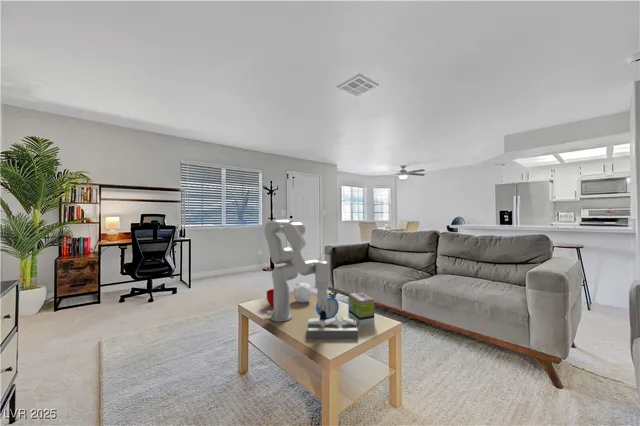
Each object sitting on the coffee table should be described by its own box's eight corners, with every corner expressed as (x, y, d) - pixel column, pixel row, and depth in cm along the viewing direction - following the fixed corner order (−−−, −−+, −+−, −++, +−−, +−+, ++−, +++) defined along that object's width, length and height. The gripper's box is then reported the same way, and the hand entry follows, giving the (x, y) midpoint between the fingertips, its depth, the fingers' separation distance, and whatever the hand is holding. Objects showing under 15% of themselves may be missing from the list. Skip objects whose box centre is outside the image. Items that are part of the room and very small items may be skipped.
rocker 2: (325, 325, 147) (324, 322, 147) (325, 322, 151) (324, 319, 151) (338, 321, 147) (338, 319, 147) (338, 318, 152) (337, 316, 152)
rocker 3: (342, 321, 147) (343, 319, 147) (341, 318, 152) (342, 316, 152) (355, 325, 147) (356, 322, 147) (354, 322, 152) (355, 319, 152)
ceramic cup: (277, 300, 204) (277, 286, 204) (288, 306, 190) (288, 291, 190) (260, 303, 196) (260, 289, 196) (271, 310, 183) (271, 295, 183)
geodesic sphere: (292, 298, 189) (304, 280, 193) (284, 293, 201) (295, 276, 205) (308, 308, 194) (319, 291, 199) (299, 303, 207) (310, 286, 211)
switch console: (307, 338, 141) (307, 328, 141) (308, 328, 154) (308, 319, 154) (358, 338, 141) (358, 329, 141) (355, 328, 154) (355, 319, 154)
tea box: (347, 317, 171) (347, 293, 171) (362, 315, 174) (362, 291, 174) (359, 326, 157) (359, 300, 157) (375, 324, 160) (375, 298, 160)
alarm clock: (320, 321, 163) (320, 296, 163) (315, 318, 169) (315, 293, 169) (339, 317, 170) (339, 293, 170) (333, 314, 175) (333, 290, 175)
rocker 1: (308, 324, 147) (308, 321, 147) (308, 320, 151) (308, 318, 151) (322, 322, 147) (322, 320, 147) (322, 319, 151) (321, 317, 151)
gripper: (315, 281, 157) (316, 314, 156) (315, 288, 142) (316, 324, 141) (328, 281, 157) (329, 313, 157) (329, 287, 142) (330, 324, 141)
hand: (323, 318), depth 149 cm, fingers closed
